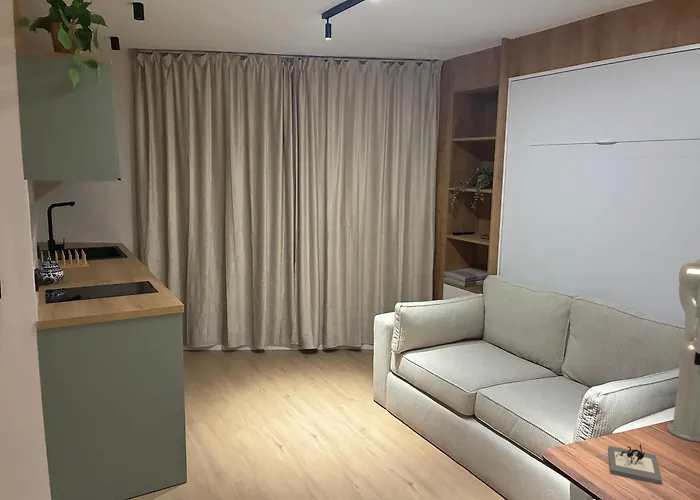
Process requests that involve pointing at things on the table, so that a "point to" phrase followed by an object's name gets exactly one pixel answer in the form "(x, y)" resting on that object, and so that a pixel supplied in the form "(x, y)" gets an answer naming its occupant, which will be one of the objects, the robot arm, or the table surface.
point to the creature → (639, 455)
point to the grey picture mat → (641, 471)
